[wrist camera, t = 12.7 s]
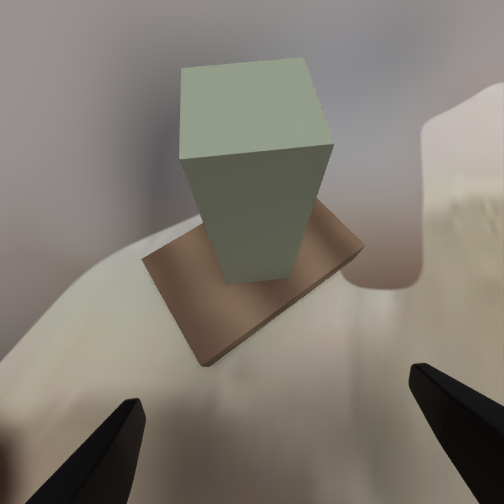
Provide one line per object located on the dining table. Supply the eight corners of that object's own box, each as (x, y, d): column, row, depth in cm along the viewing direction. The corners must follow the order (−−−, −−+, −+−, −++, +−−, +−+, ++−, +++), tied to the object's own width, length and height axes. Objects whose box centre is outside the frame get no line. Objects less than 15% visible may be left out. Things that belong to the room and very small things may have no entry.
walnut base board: (287, 191, 27) (290, 172, 24) (353, 259, 23) (365, 245, 21) (155, 271, 23) (141, 259, 21) (209, 366, 20) (200, 366, 17)
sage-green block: (289, 277, 20) (334, 143, 8) (227, 284, 20) (179, 159, 8) (279, 224, 22) (303, 57, 10) (223, 230, 22) (181, 68, 10)
